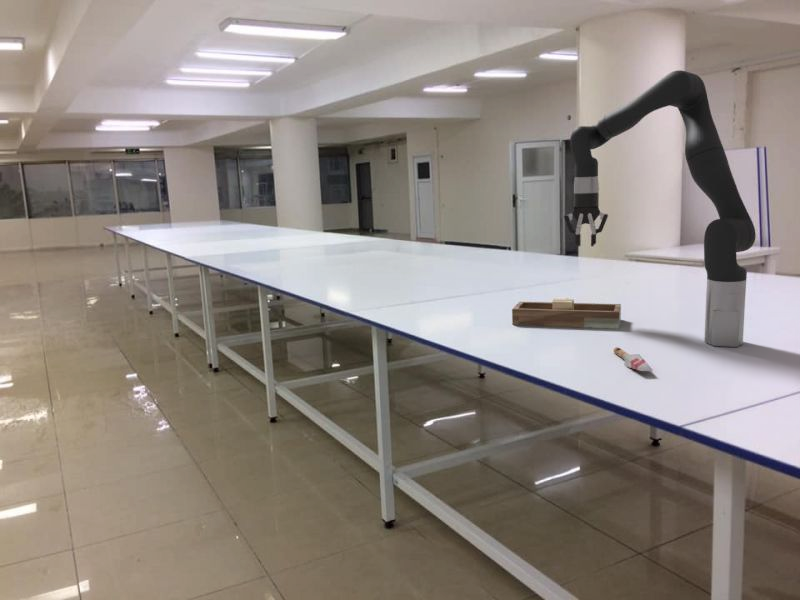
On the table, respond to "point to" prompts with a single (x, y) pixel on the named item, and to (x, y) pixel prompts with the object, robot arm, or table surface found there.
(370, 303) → the table surface
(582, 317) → the box
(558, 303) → the beech block
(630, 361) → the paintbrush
